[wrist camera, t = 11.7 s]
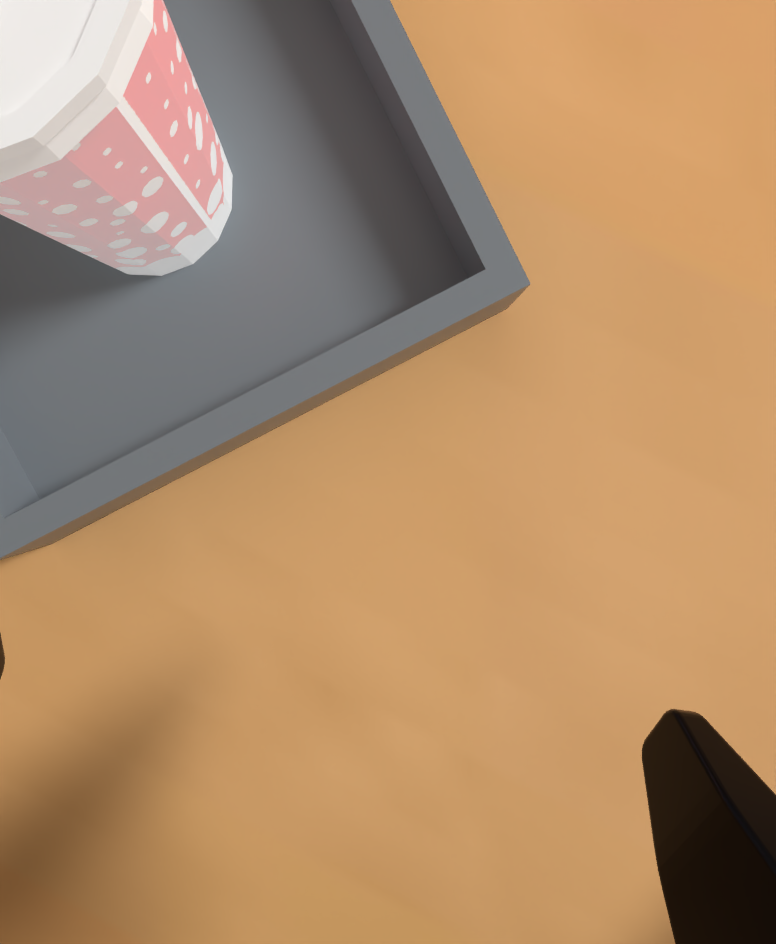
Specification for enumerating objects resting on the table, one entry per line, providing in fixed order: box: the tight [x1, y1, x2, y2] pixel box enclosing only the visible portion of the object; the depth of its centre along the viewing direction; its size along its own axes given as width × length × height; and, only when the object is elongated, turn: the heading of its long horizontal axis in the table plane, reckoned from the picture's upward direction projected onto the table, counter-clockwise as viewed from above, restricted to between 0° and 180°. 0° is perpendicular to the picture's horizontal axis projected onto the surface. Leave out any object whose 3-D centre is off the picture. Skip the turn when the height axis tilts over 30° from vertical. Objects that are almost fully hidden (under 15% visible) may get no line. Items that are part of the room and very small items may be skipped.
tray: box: [0, 0, 530, 560], centre depth 17 cm, size 15×15×3 cm
